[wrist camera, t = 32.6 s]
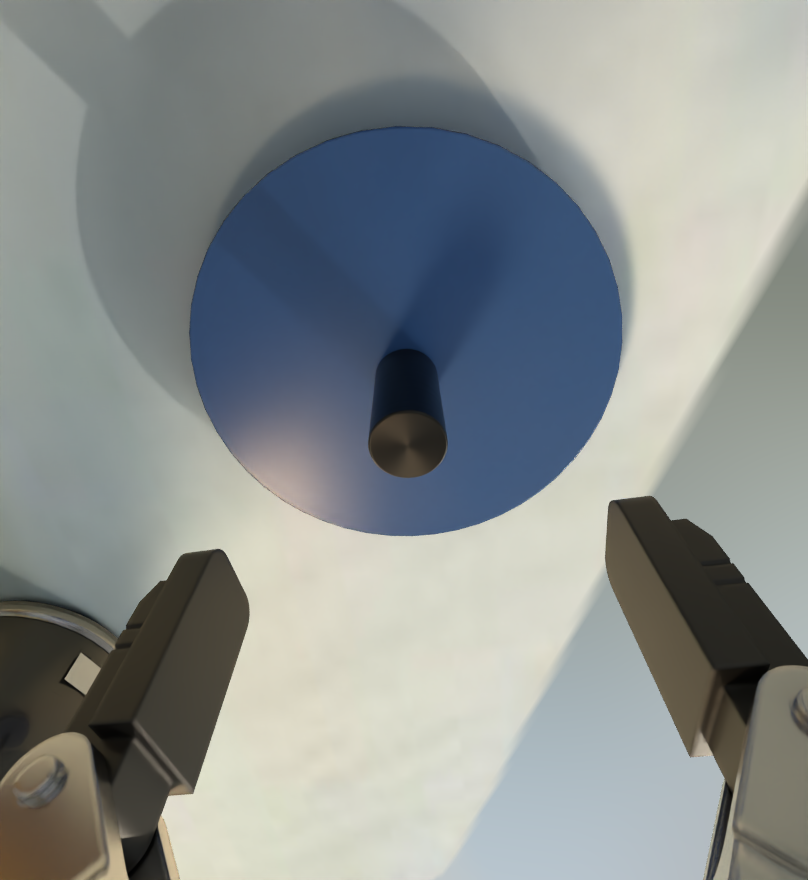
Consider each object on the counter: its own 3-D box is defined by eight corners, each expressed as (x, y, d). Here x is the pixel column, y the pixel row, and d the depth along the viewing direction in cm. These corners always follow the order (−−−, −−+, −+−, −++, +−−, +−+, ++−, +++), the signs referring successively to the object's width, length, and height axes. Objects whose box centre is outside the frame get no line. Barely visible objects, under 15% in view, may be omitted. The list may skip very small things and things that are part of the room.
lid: (273, 540, 24) (239, 647, 19) (124, 180, 16) (-9, 197, 11) (603, 495, 22) (662, 598, 17) (624, 78, 14) (746, 42, 9)
